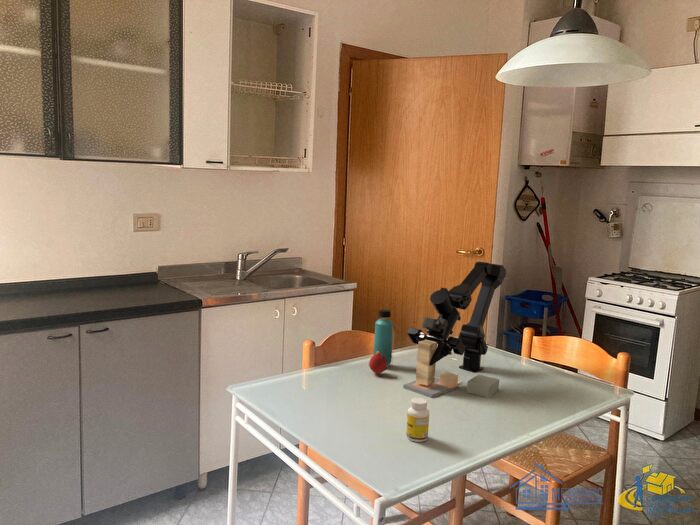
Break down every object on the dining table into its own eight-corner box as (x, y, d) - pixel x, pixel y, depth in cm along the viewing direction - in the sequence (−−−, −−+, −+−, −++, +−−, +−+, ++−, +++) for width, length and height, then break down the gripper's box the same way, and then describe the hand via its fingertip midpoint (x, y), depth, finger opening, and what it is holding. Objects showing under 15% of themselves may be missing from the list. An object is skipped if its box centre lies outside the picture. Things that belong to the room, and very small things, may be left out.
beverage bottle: (391, 369, 200) (395, 312, 197) (372, 368, 200) (375, 311, 197) (390, 364, 206) (394, 308, 204) (372, 363, 206) (375, 307, 204)
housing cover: (477, 384, 189) (478, 374, 188) (498, 389, 185) (499, 379, 185) (466, 392, 181) (467, 381, 181) (488, 397, 178) (489, 386, 177)
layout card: (444, 377, 195) (444, 375, 195) (462, 382, 190) (462, 381, 190) (435, 380, 191) (435, 378, 191) (453, 385, 187) (453, 384, 187)
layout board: (431, 378, 193) (432, 366, 193) (461, 387, 185) (462, 375, 185) (403, 387, 182) (404, 375, 182) (433, 398, 175) (434, 385, 174)
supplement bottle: (404, 433, 149) (406, 396, 147) (425, 433, 149) (427, 396, 148) (408, 442, 143) (410, 404, 142) (429, 442, 144) (432, 404, 143)
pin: (423, 379, 186) (425, 339, 184) (434, 382, 183) (437, 342, 181) (415, 382, 182) (418, 341, 181) (426, 385, 180) (429, 344, 178)
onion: (386, 372, 196) (387, 349, 195) (385, 378, 191) (387, 354, 190) (369, 371, 197) (370, 348, 196) (367, 376, 191) (369, 353, 190)
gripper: (412, 302, 189) (389, 341, 182) (463, 313, 177) (441, 355, 170) (424, 323, 196) (402, 361, 189) (473, 334, 184) (453, 375, 177)
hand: (424, 363), depth 181 cm, fingers closed on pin, 4 cm apart
